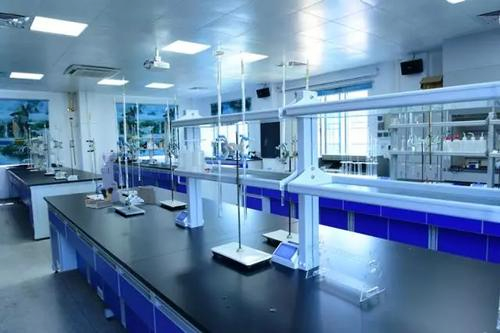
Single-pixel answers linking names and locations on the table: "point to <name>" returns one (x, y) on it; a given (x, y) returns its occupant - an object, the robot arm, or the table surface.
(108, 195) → the brass block
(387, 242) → the table surface
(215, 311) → the table surface
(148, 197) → the geiger counter
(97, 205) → the vise bed
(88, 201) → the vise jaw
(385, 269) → the table surface
